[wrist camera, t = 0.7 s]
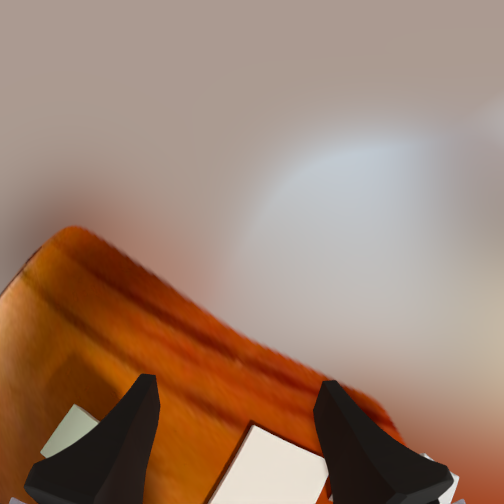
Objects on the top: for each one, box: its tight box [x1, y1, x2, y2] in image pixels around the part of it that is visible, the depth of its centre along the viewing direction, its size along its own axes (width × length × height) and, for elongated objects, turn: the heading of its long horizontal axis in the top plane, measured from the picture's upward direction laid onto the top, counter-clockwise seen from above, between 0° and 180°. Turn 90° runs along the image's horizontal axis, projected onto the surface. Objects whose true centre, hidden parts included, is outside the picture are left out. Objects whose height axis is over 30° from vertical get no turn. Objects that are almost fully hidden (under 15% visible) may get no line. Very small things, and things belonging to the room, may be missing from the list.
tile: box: [208, 425, 329, 504], centre depth 22 cm, size 10×10×1 cm
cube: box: [40, 404, 100, 458], centre depth 17 cm, size 5×5×5 cm
